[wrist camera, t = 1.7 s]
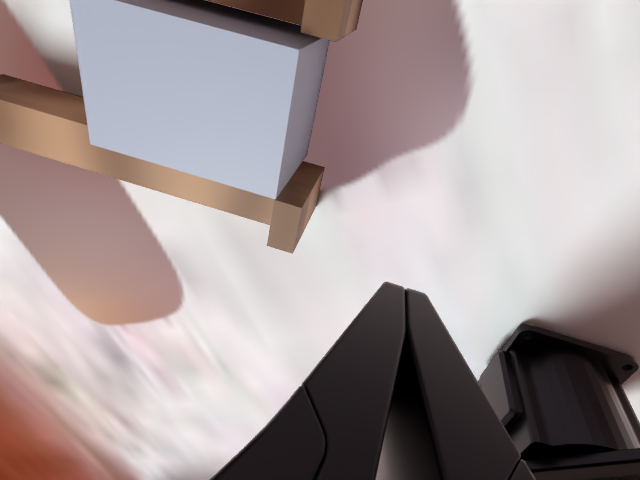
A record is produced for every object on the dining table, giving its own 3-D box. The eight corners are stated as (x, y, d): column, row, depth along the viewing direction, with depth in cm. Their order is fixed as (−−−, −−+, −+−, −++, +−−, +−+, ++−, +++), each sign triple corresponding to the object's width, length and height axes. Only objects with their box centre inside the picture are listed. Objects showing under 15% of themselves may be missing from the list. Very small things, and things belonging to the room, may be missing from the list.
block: (330, 33, 16) (299, 49, 12) (307, 154, 20) (275, 199, 15) (154, -14, 17) (67, -13, 13) (158, 111, 20) (90, 144, 16)
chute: (372, -42, 15) (354, -50, 11) (315, 207, 21) (292, 253, 18) (-54, -147, 16) (-192, -186, 12) (13, 117, 22) (-66, 143, 19)
